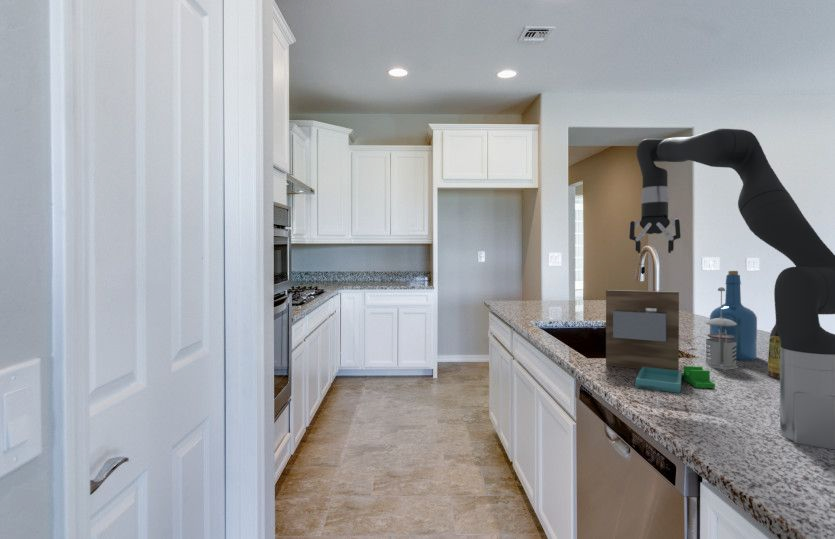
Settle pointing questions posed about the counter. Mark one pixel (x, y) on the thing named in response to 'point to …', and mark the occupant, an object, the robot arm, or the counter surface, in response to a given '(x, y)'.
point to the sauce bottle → (774, 354)
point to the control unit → (640, 324)
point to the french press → (721, 344)
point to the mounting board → (643, 351)
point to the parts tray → (659, 379)
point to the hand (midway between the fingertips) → (654, 253)
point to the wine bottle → (737, 320)
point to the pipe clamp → (697, 377)
